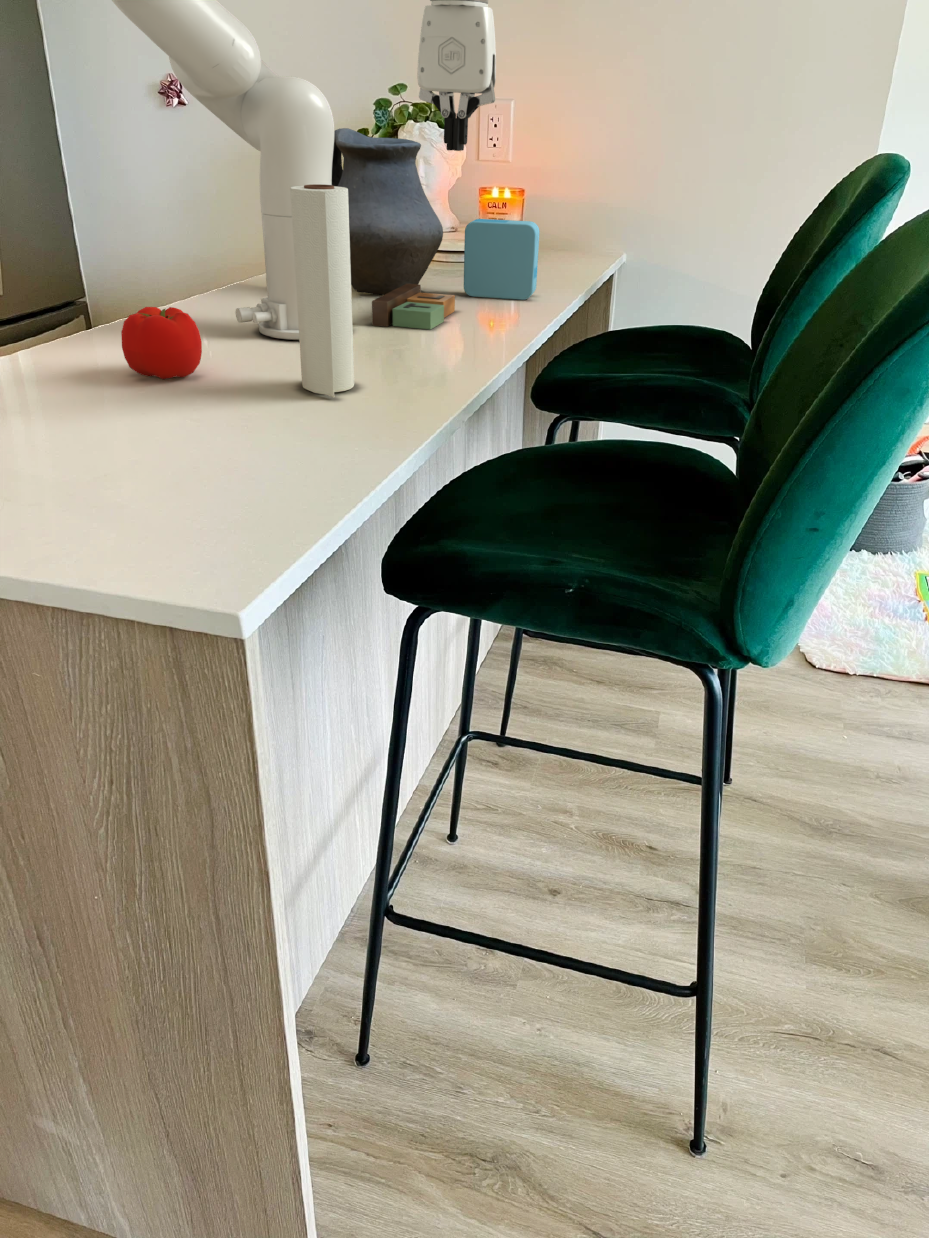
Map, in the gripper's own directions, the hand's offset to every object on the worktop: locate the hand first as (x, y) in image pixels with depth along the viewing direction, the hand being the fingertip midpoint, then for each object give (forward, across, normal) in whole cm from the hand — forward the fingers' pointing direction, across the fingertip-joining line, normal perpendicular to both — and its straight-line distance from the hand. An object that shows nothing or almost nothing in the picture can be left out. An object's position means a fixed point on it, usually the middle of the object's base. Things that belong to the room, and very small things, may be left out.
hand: (455, 150), depth 133 cm
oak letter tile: (+23, -4, +4) cm, 24 cm away
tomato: (+24, -21, -44) cm, 54 cm away
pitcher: (+24, -19, +20) cm, 36 cm away
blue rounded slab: (+23, +2, +23) cm, 33 cm away
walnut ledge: (+24, -8, 0) cm, 25 cm away
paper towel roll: (+24, -2, -42) cm, 49 cm away
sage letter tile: (+24, -4, -4) cm, 24 cm away
